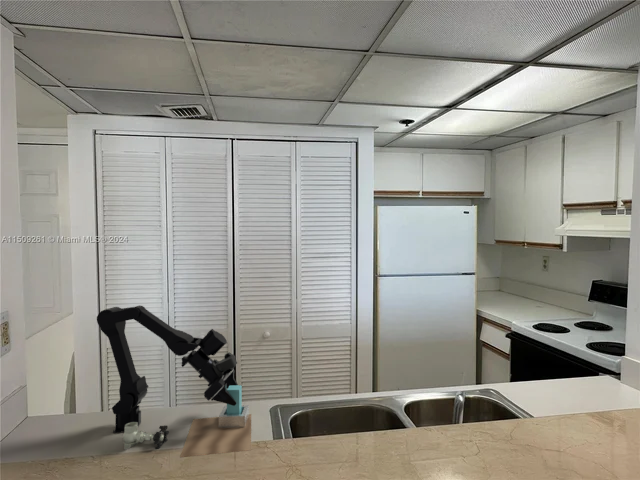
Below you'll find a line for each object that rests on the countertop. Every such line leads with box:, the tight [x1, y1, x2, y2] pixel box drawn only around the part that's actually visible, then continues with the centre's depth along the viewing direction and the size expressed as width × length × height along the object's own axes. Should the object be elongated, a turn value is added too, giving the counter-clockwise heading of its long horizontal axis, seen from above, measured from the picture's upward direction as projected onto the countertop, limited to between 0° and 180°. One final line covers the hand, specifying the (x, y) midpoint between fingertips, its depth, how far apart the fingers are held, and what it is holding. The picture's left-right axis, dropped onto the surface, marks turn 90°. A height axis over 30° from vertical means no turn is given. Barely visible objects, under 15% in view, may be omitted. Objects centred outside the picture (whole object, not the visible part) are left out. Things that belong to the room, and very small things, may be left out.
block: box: [226, 384, 243, 415], centre depth 120 cm, size 4×4×11 cm
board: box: [179, 413, 252, 458], centre depth 112 cm, size 19×23×1 cm
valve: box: [122, 422, 170, 451], centre depth 106 cm, size 7×7×12 cm
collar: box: [218, 404, 250, 428], centre depth 120 cm, size 8×8×4 cm
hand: (238, 398), depth 120 cm, fingers open, 9 cm apart
